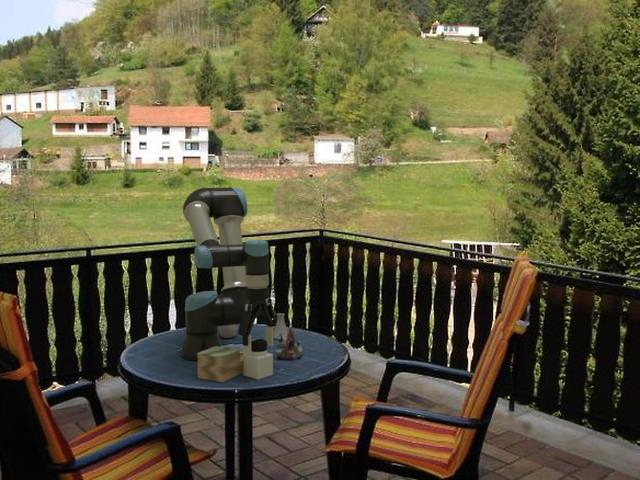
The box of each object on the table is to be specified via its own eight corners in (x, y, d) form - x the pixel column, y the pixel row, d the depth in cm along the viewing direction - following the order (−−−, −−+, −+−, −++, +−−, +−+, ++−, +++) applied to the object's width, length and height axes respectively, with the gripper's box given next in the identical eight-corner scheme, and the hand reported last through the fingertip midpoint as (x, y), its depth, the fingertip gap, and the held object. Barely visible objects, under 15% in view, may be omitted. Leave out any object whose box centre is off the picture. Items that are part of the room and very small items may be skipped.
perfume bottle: (229, 340, 258) (229, 311, 257) (210, 337, 263) (210, 309, 262) (240, 336, 264) (240, 308, 263) (222, 333, 269) (221, 305, 268)
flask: (293, 337, 263) (292, 313, 262) (283, 341, 257) (282, 316, 256) (278, 335, 267) (278, 311, 266) (268, 338, 261) (268, 314, 260)
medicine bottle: (273, 374, 214) (273, 339, 213) (257, 380, 208) (257, 344, 207) (259, 370, 218) (258, 336, 217) (243, 375, 213) (242, 340, 212)
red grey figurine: (303, 355, 228) (283, 328, 229) (280, 372, 231) (260, 345, 231) (311, 347, 239) (292, 321, 240) (289, 363, 241) (270, 337, 242)
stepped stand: (197, 377, 211) (197, 353, 210) (232, 362, 228) (232, 339, 228) (222, 382, 206) (222, 356, 205) (256, 365, 224) (256, 342, 223)
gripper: (245, 293, 198) (247, 360, 200) (286, 282, 220) (287, 342, 222) (225, 291, 202) (227, 357, 203) (267, 281, 224) (268, 340, 225)
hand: (258, 350), depth 213 cm, fingers open, 13 cm apart
